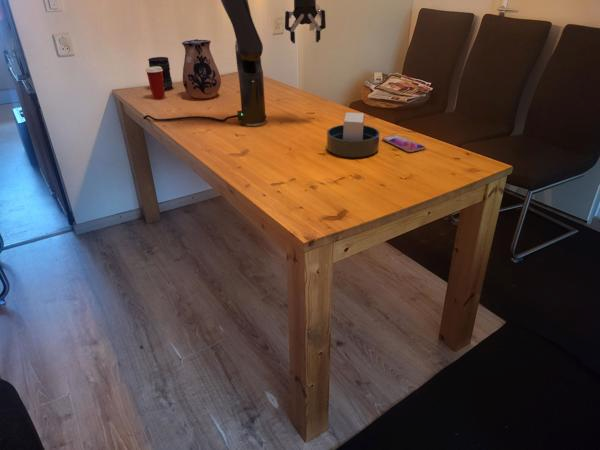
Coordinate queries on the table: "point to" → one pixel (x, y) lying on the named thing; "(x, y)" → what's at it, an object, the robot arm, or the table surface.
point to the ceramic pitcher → (200, 70)
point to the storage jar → (165, 67)
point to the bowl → (353, 143)
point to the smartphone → (403, 143)
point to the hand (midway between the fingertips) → (305, 42)
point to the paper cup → (156, 82)
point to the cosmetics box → (353, 126)
